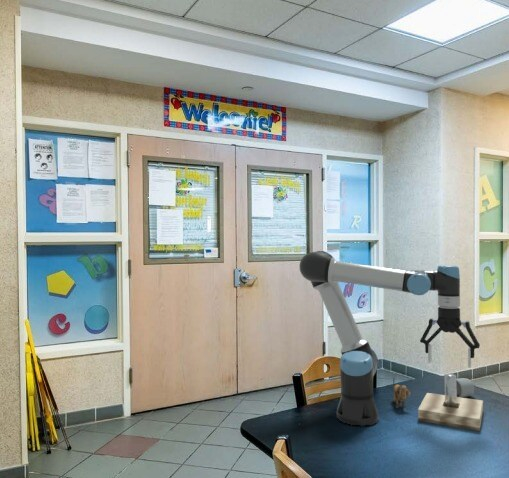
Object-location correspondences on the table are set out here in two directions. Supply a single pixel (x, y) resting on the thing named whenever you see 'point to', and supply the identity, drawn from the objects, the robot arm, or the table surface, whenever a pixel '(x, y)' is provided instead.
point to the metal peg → (450, 391)
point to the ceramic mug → (464, 387)
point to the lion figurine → (400, 394)
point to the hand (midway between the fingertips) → (449, 364)
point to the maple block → (451, 412)
